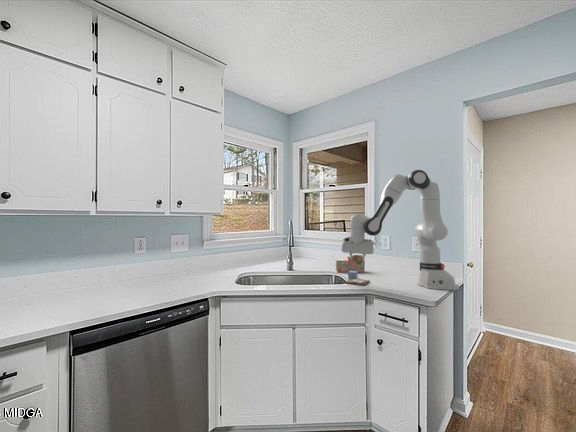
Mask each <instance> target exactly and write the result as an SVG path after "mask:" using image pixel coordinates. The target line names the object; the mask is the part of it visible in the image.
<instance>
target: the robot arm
mask: <svg viewBox="0 0 576 432" xmlns="http://www.w3.org/2000/svg"><path fill="white" fill-rule="evenodd" d="M405 190H409V191H410V190H411V191H414V190H418V191H419V195H420V196H419V198H420V201H419V205H420V207H419V208H420V209H419V211H420V215H422V217H423V222H419V223H418V224H415V226H414V231H413V232H414V234H415V236H416V238H417V241H418V245H419V250H420V257H419V258H420V262H419V271H420V272H419V278H418V282H417V285H418V286H421V287H424V288H426V289H435V290H445V291H446V290H448V291H457V290H460V285H459V284H457V283H456V281H455V278H454V276H453V275H452V274H451V273H449V272H448V271H447V270H445V264H444V263H442V262H441V249H440V248H439V246H438V244H437V241H441V240H444V239H446V238H447V237H448V234H449V233H448V232H449V231H448V228H447V226H446V225H445V224H444V221H443V218H442V214H441V195H440V188H439V184H438V183H436V182H435V181H431V179H430V177H429V176H428V174H427V173H426V171H424V170H422V169H416V170H413V171H411V172H410V173H409V174H407V175H405V176H404V175H403V174H400V173H399V174H395V175H393V176H392V177H391V179H390V180H389V181H388V182H387V183H386V185H385V186H384V189H383V190H382V193H381V196H380V203H379V205H378V208H377V209H376V211H375V212H374V214H373V216H372V217H368V216H367V215H365V214H363V213H357V214H353V215H352V216H351V217H350V235H349V236H346V237H344V238H342V239H343V241H342V243H341V252H342V253H345V254H346V253H347V254H348V256H351V260H352V256H353V255H354V254H358V255H361V254H362V255H363V257H362V258H361V261H365V258H366V255H373V254H374V252H375V251H374V250H375V249H374V245H375V244H374V243H375V242H374V240H372V239H371V238H370V239H368V238H365V235H366V234H367V235H369V236H374V237H375V236H377V235H378V234H380V233H381V231H382V225H383V221H384V220H385V218H386V216H387V215H388V212H389V211H390V209H392V207H393V206H394V205H395V204H396V203H397V202H398V201H399V199H400V198H401V196H402V194H403V193H404V191H405ZM365 233H366V234H365Z"/></svg>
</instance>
